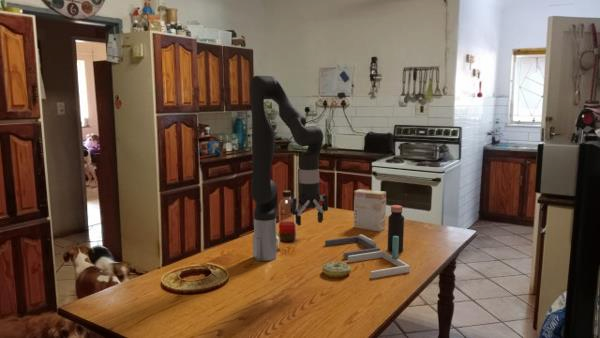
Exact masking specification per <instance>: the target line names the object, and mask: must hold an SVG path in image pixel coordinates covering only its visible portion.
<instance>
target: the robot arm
mask: <svg viewBox="0 0 600 338" xmlns="http://www.w3.org/2000/svg"><path fill="white" fill-rule="evenodd" d="M249 82H250V83H249V99H250V100H249V101H250V110H251V149H252V150H251V151H252V154H251V156H252V157H251V158H252V161H251V162H252V175H251V176H252V177H251V186H250V187H251V189H250V194H251V197H252V200H253V201H254V202H255V203H256V204H255V209H254V211H253V235H252V257H253V258H254V259H255V260H256V261H258V262H259V261H260V262H270V261H273V260H275V259H277V211H278V197H279V196H278V195H279V194H278V187H277V186H278V185H277V184H276V182H274V181H273V180H272V179H271V167H272V163H273V159H274V154H275V148H276V146H275V145H276V142H275V141H276V140H275V139H276V138H275V137H276V135H275V130H274V127H273V126H272V124H271V122H270V120H269V118H268V117H267V114H266V111H265V105H264V104H265V103H264V102H265V100H272V101H273V102H275V103H276V104H277V106H278V114H279V118H280V120H282V122H283V123H284V124H285V125H286V126H287V127H288V128H289V130H290V133H291V135H292V138H293V140H294V142H295V143H296V144H297V145H298V146H300V147H307V149H306V150H305V151H304V152H301V153H300V154H299V158H298V159H299V161H298V163H299V169H298V170H299V171H298V197H291V198H290V207H289V208H290V211H289V213H290V214H292V215H294V217H295V224H297V226H298V227H299V226H301V225H302V217H301V216H302V213H303V212H304V211H305V210H306V209H307V210H308V209H316V210H317V222H318V223H319V224H321V223H322V222H323V221H324V212H327V211H329V205H328V195H326V194H323V193H322V194H320V180H321V179H320V171H319V169H320V167H319V161H320V160H319V159H320V158H319V157H320V154H321V150H322V146H323V144H324V143H323V141H324V132H323V131H322V129H321V128H320V127H319V126H317V125H309V126H306V125H307V119H306V117H305V115H303V114H302V112H301V111H299V109H298V108H297V107H296V106H295V105H294V103H293V102H292V100H291V99H290V97H289V96H288V94H287V93H286V91H285V90H284V88H283V86H282V85H281V83H280V81H279V80H278V79H277V78H276V77H274V76H272V75H270V76H269V75H254V76H253V77H251V79H250V80H249ZM320 201H321V205H320V204H319V202H320ZM298 203H299V204H298ZM297 204H298V205H297Z"/></svg>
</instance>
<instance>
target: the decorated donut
mask: <svg viewBox="0 0 600 338" xmlns="http://www.w3.org/2000/svg"><path fill="white" fill-rule="evenodd" d="M351 271H352V269H351V266H350V265H349V264H347V263H346V262H343V261H339V260H338V261H329V262H326V263H324V264H323V265H322V272H323V274H324V275H325V276H327V277H329V278H335V279H340V278H345V277H347V276H348V274H349V273H350V272H351Z"/></svg>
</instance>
